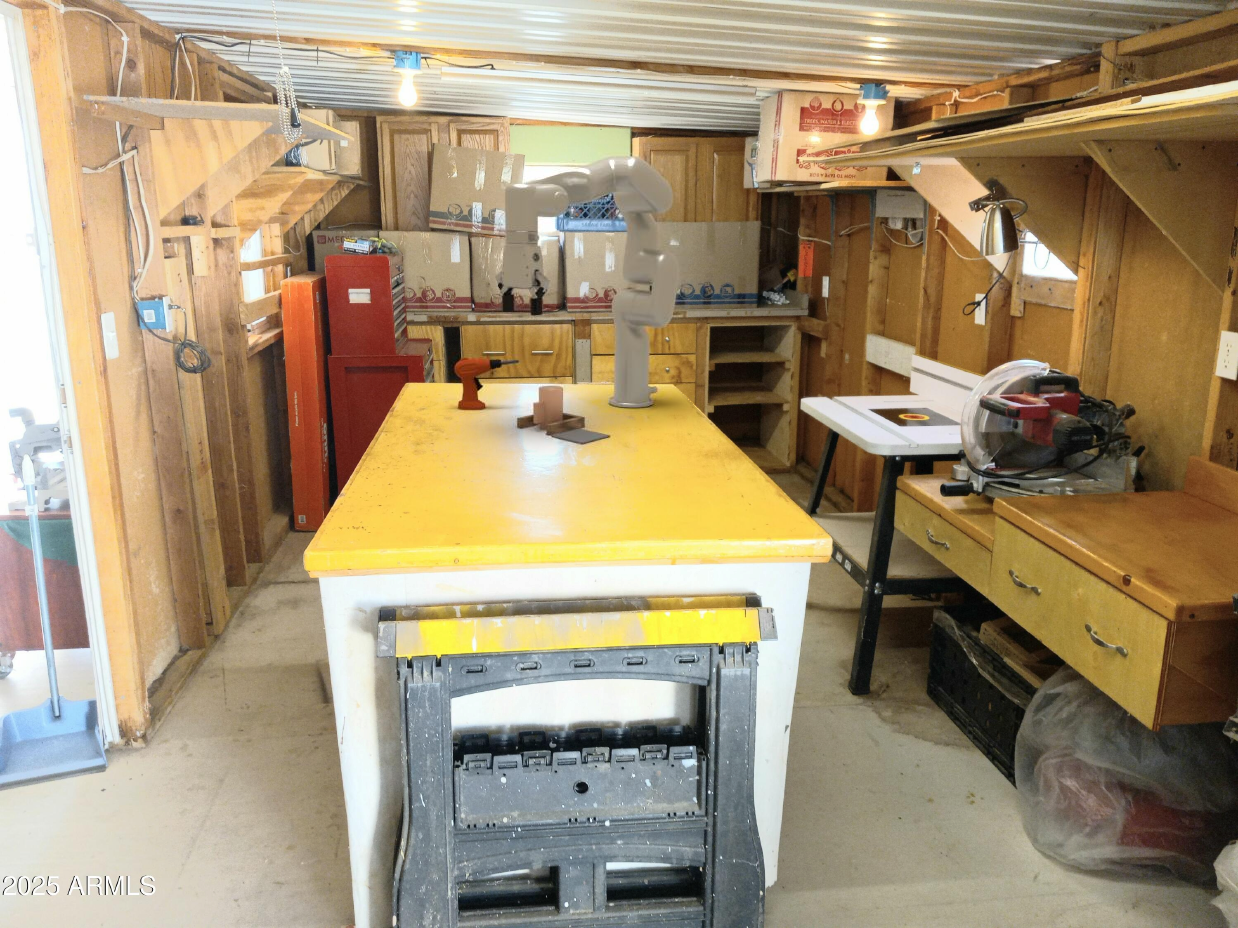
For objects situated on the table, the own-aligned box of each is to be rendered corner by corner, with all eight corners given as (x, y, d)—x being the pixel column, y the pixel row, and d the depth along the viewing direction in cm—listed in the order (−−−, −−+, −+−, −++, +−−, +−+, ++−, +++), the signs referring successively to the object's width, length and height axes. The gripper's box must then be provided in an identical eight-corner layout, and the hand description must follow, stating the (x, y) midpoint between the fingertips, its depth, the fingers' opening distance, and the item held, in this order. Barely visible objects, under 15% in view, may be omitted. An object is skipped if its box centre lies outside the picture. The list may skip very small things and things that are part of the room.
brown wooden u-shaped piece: (552, 419, 237) (552, 410, 237) (584, 427, 230) (584, 417, 230) (517, 427, 228) (517, 418, 228) (549, 435, 221) (549, 425, 221)
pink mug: (550, 423, 233) (550, 384, 231) (568, 427, 230) (568, 388, 227) (526, 429, 227) (526, 389, 224) (543, 433, 223) (543, 392, 221)
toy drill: (525, 404, 248) (517, 352, 244) (458, 413, 247) (449, 360, 243) (524, 401, 253) (517, 349, 248) (459, 409, 251) (450, 357, 247)
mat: (579, 430, 227) (579, 428, 227) (610, 436, 221) (610, 435, 221) (551, 437, 220) (551, 435, 220) (582, 444, 214) (582, 442, 214)
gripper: (559, 240, 211) (559, 315, 216) (508, 237, 222) (509, 309, 227) (535, 241, 206) (536, 317, 210) (484, 238, 217) (486, 311, 221)
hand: (522, 313), depth 218 cm, fingers open, 9 cm apart
